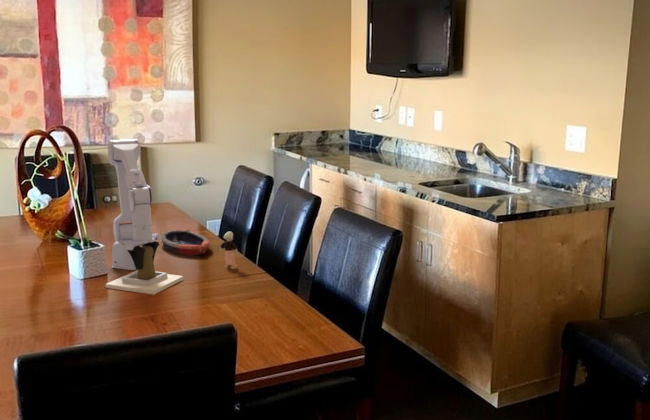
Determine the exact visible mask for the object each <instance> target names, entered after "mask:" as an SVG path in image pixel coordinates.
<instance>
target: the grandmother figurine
mask: <svg viewBox="0 0 650 420" xmlns="http://www.w3.org/2000/svg"><path fill="white" fill-rule="evenodd" d="M223 239H225V241H224V242H222V243H221V245H220V247H219V251H220V252H223V249H224V251H225V252H224V261H225V266H224V268H225V269H232V270H234V269H237V268H238V265H237V264H236V262H235V261H236V260H235V255H236V256H237V255H239V252H238V248H237V245H236V244H235V243H234V242H233V240H234V233H233V232H232V231H227V232H226V233H225V234H224V235H223Z"/></svg>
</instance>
